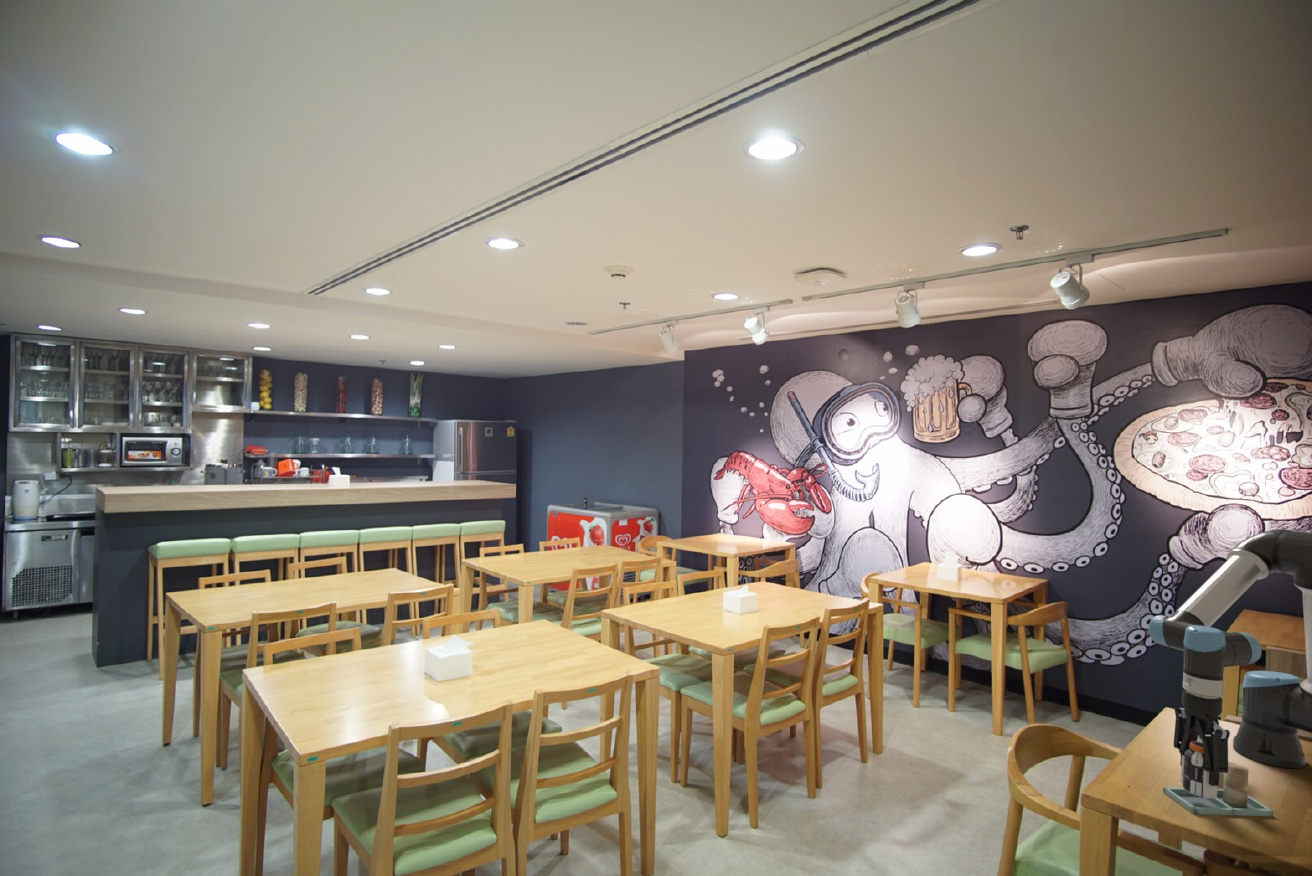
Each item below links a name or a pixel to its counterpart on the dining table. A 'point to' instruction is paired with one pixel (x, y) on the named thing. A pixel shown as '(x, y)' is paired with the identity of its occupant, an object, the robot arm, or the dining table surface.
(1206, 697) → the robot arm
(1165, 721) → the dining table surface
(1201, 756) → the pill bottle
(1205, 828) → the dining table surface
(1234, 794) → the beech dowel
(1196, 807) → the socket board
